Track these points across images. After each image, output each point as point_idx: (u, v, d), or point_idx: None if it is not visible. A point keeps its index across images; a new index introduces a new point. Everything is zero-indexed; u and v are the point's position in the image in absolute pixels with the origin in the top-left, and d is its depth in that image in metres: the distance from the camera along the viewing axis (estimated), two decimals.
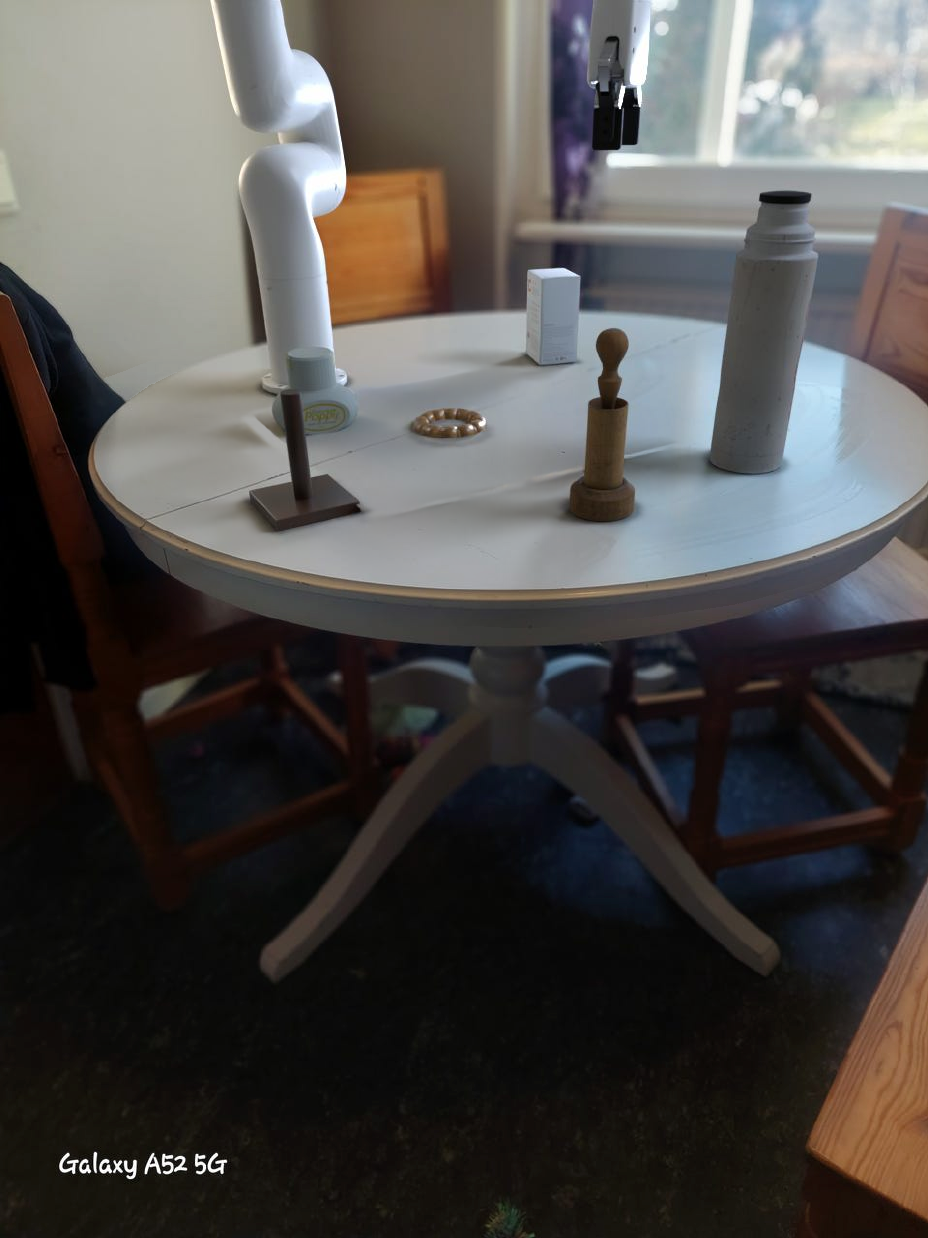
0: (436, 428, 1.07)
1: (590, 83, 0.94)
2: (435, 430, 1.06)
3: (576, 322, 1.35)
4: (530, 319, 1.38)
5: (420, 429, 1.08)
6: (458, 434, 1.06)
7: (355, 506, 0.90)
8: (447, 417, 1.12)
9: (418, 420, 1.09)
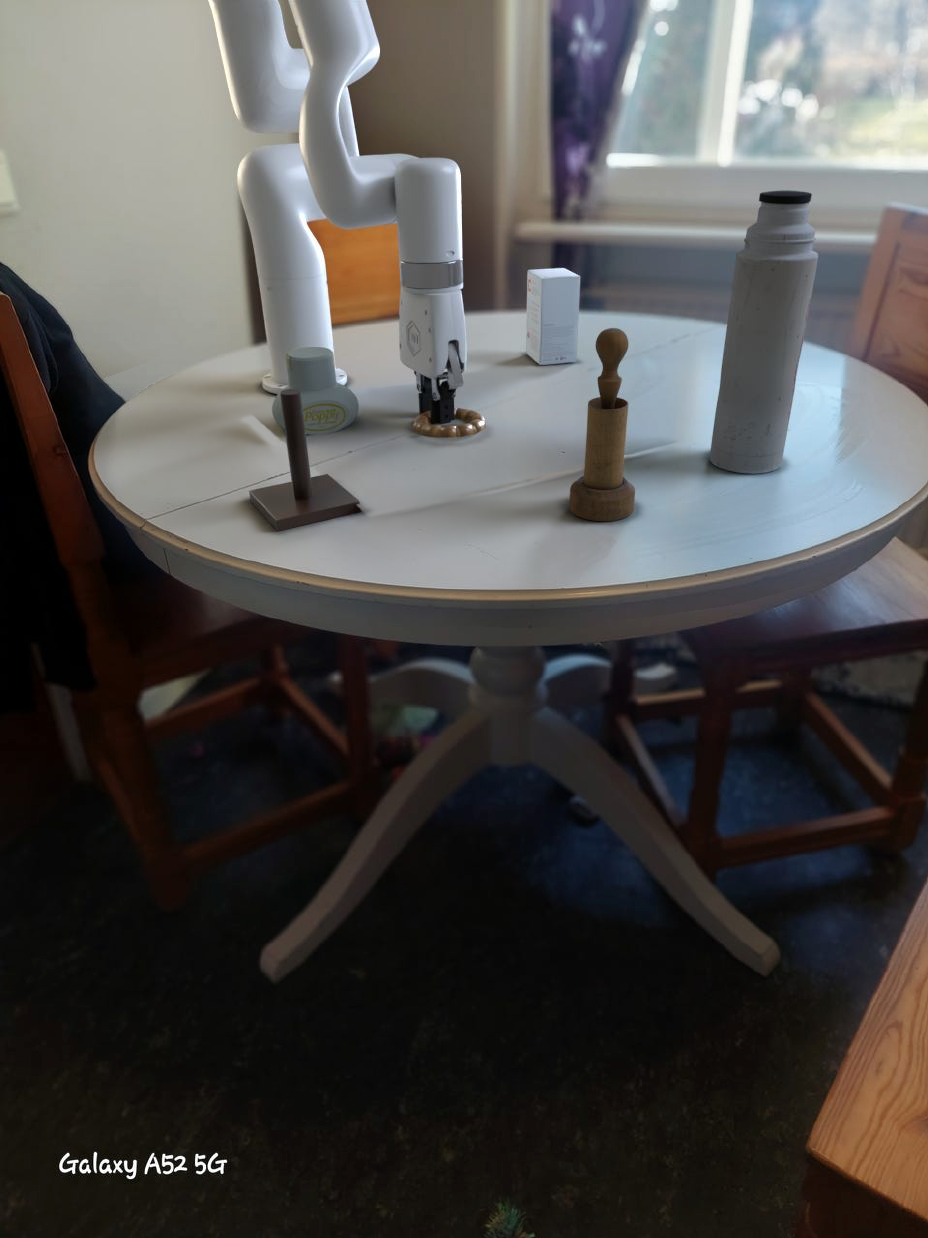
0: (435, 428, 1.07)
1: (436, 377, 1.05)
2: (434, 430, 1.07)
3: (576, 322, 1.35)
4: (530, 319, 1.38)
5: (420, 429, 1.08)
6: (457, 433, 1.06)
7: (355, 506, 0.90)
8: None
9: (418, 420, 1.09)
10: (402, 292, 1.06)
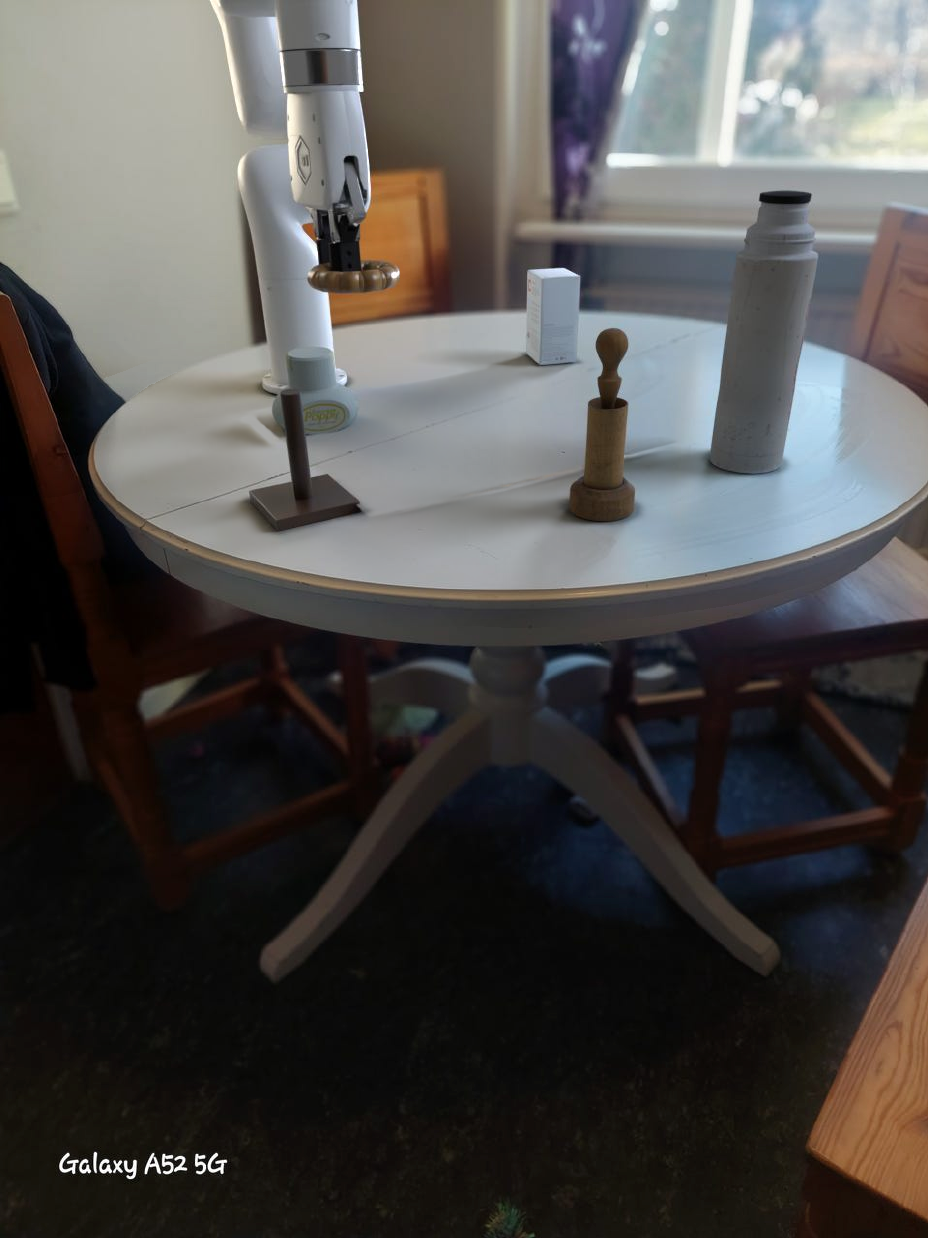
0: (333, 273, 0.85)
1: (330, 206, 0.83)
2: (332, 275, 0.85)
3: (576, 322, 1.35)
4: (530, 319, 1.38)
5: (314, 276, 0.86)
6: (361, 280, 0.84)
7: (355, 506, 0.90)
8: None
9: (313, 268, 0.87)
10: (288, 102, 0.84)
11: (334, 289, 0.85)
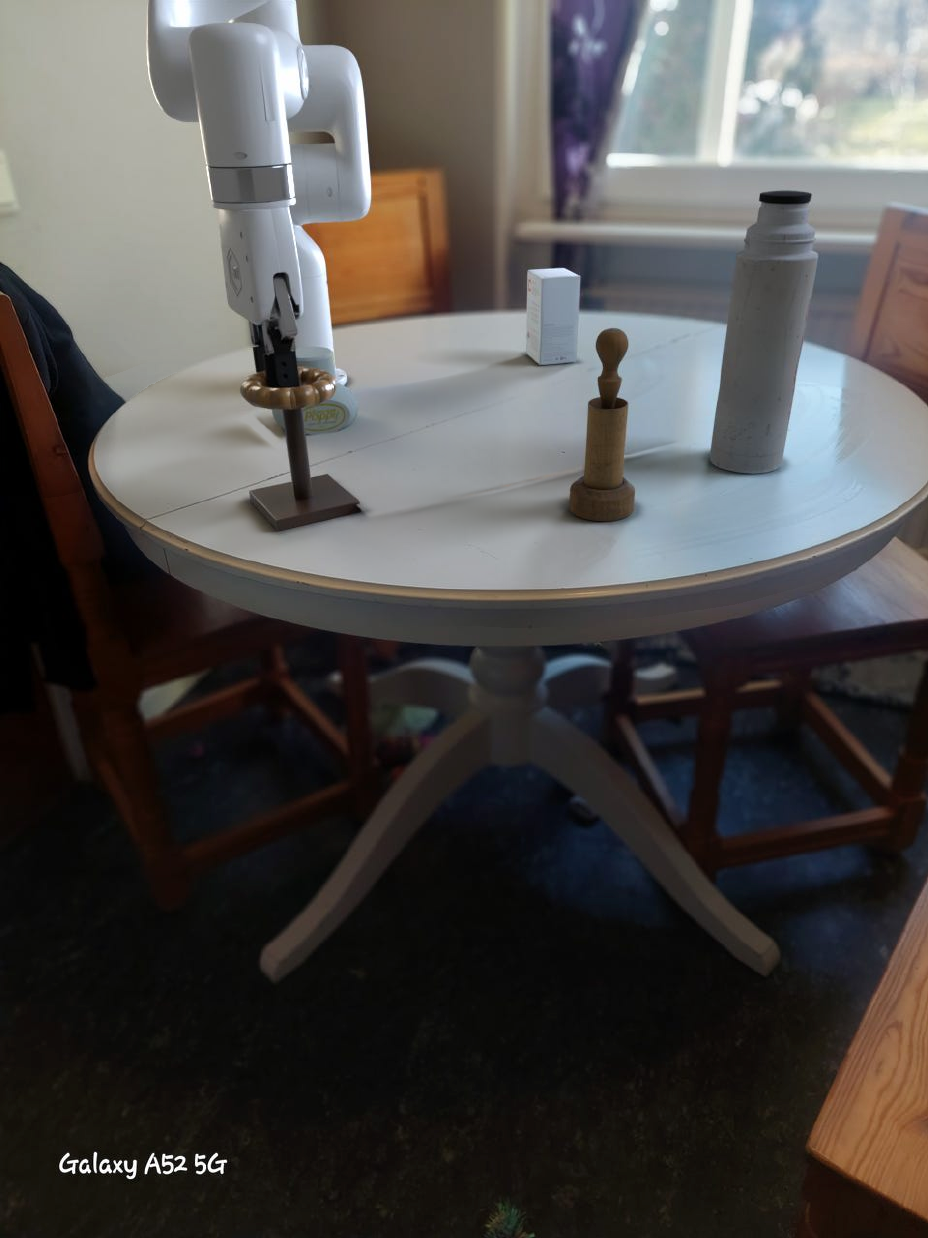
0: (264, 390, 0.82)
1: (261, 322, 0.80)
2: (262, 392, 0.82)
3: (576, 322, 1.35)
4: (530, 319, 1.38)
5: (246, 391, 0.83)
6: (292, 397, 0.82)
7: (355, 506, 0.90)
8: None
9: (246, 380, 0.85)
10: (219, 212, 0.81)
11: (265, 406, 0.82)
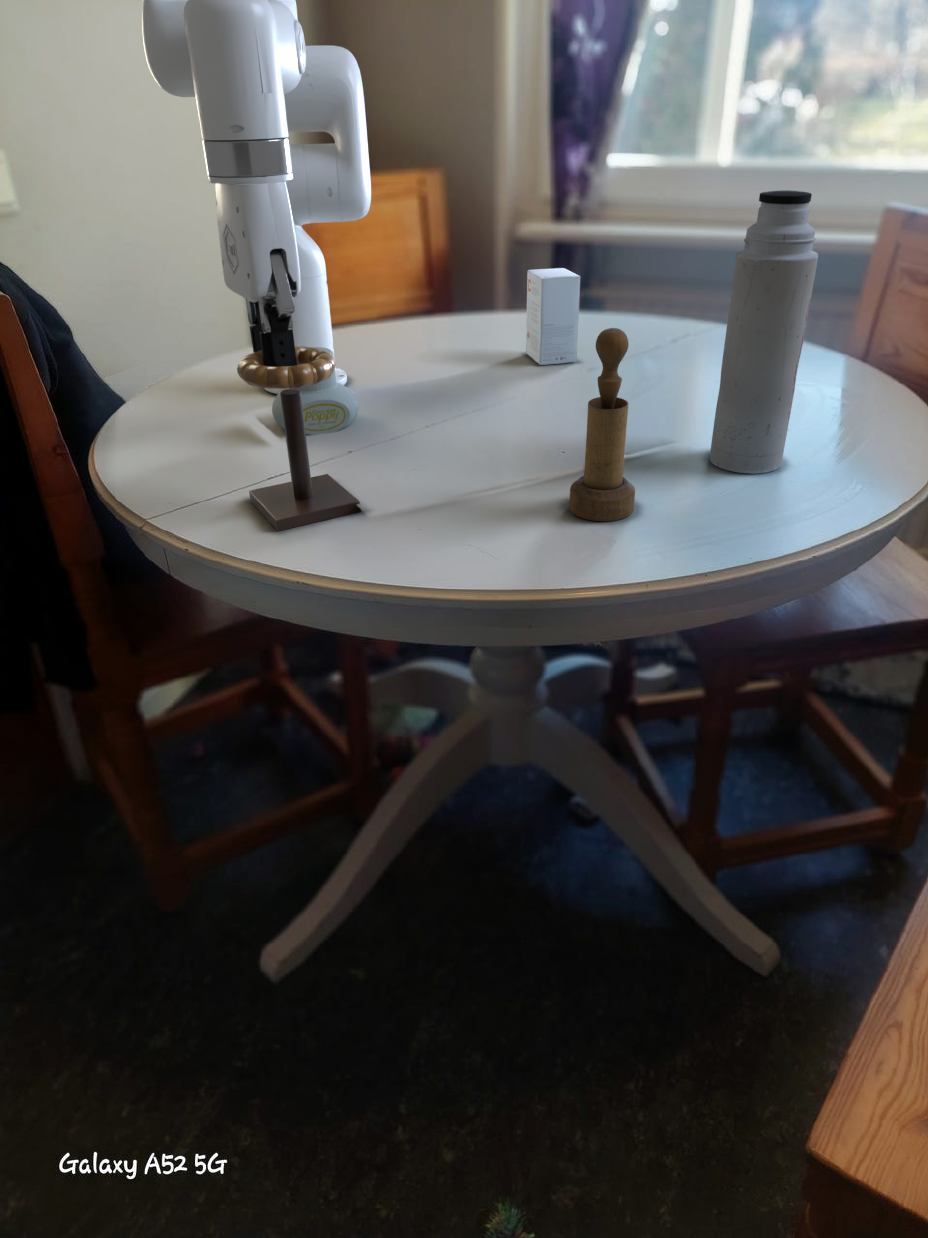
0: (261, 368, 0.81)
1: (258, 299, 0.79)
2: (260, 371, 0.81)
3: (576, 322, 1.35)
4: (530, 319, 1.38)
5: (243, 370, 0.82)
6: (289, 376, 0.81)
7: (355, 506, 0.90)
8: None
9: (243, 359, 0.84)
10: (216, 188, 0.80)
11: (262, 385, 0.81)
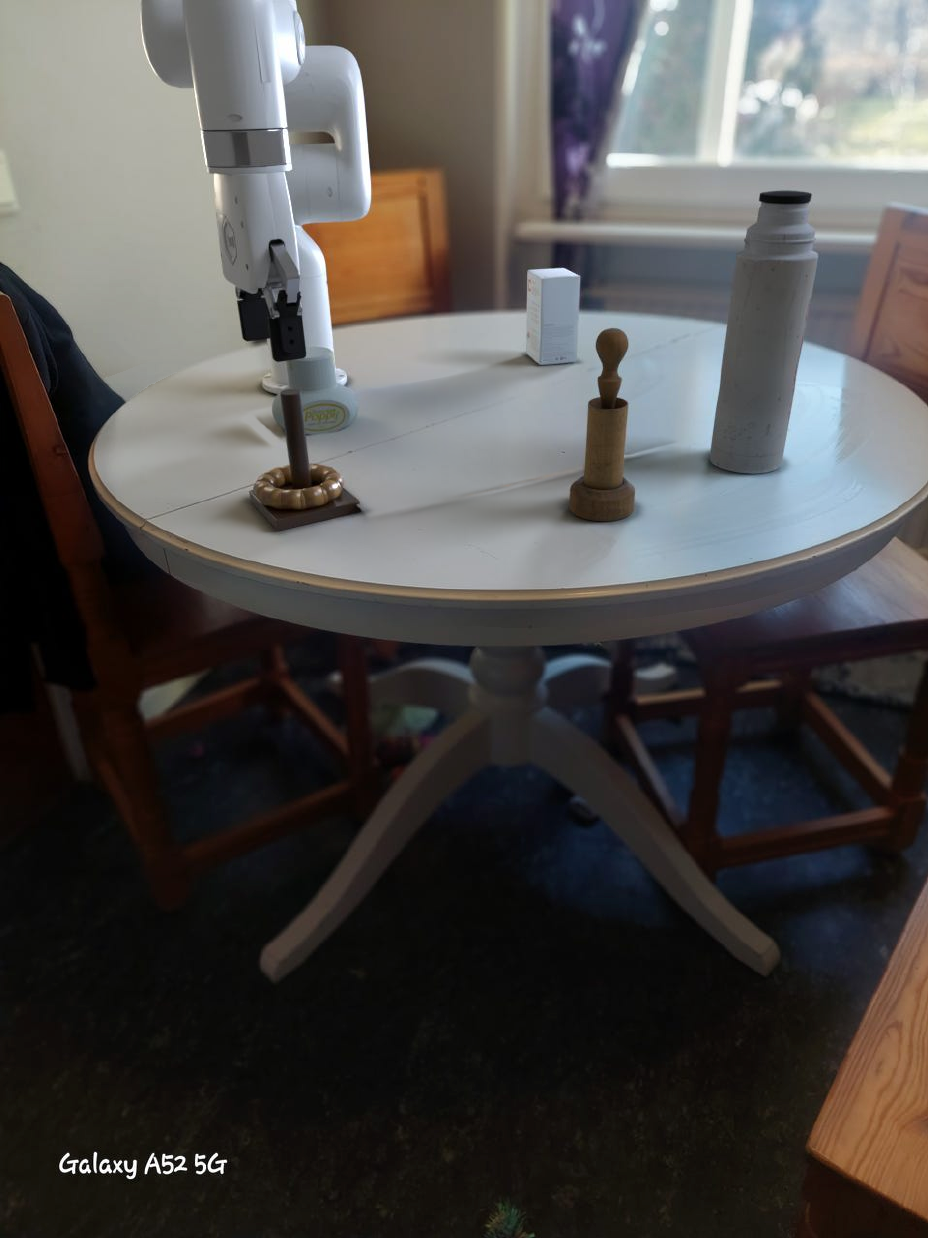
0: (276, 492, 0.87)
1: (256, 291, 0.79)
2: (274, 494, 0.87)
3: (576, 322, 1.35)
4: (530, 319, 1.38)
5: (258, 492, 0.88)
6: (302, 499, 0.87)
7: (355, 506, 0.90)
8: None
9: (259, 480, 0.90)
10: (214, 179, 0.80)
11: (277, 507, 0.88)
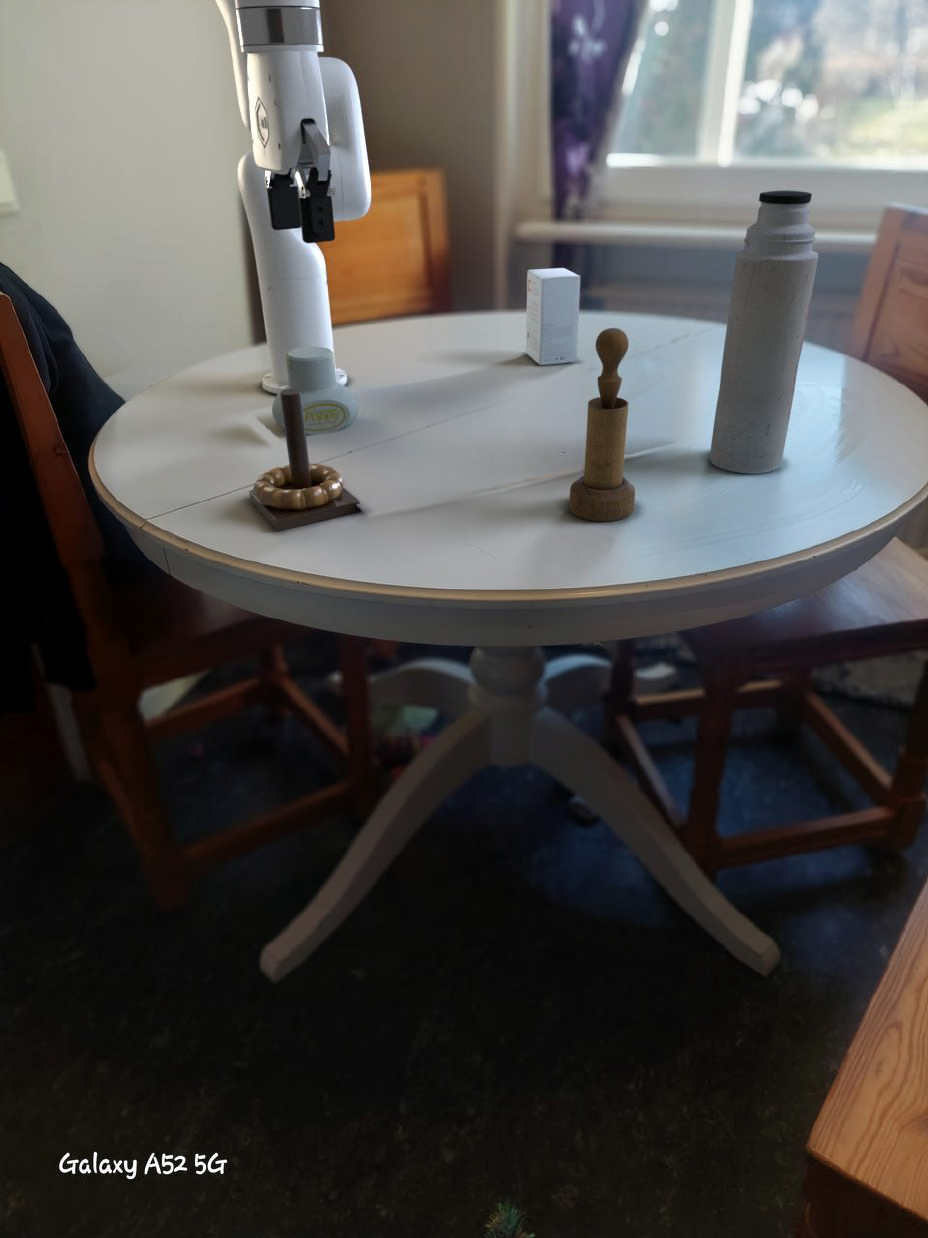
0: (276, 492, 0.87)
1: (288, 170, 0.82)
2: (274, 494, 0.87)
3: (576, 322, 1.35)
4: (530, 319, 1.38)
5: (258, 492, 0.88)
6: (302, 499, 0.87)
7: (355, 506, 0.90)
8: None
9: (259, 480, 0.90)
10: (248, 62, 0.82)
11: (277, 507, 0.88)
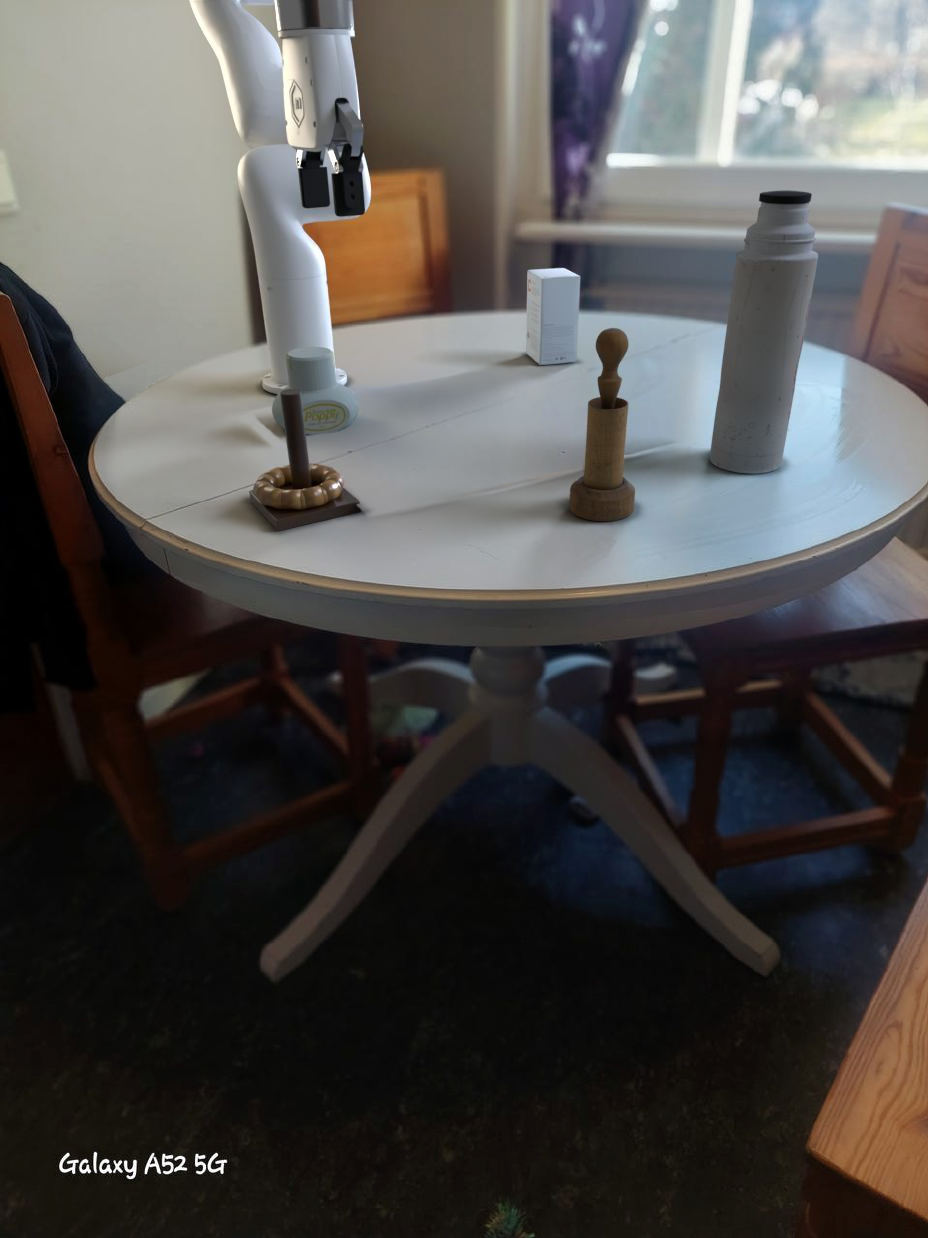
0: (276, 492, 0.87)
1: (322, 147, 0.87)
2: (274, 494, 0.87)
3: (576, 322, 1.35)
4: (530, 319, 1.38)
5: (258, 492, 0.88)
6: (302, 499, 0.87)
7: (355, 506, 0.90)
8: None
9: (259, 480, 0.90)
10: (283, 48, 0.88)
11: (277, 507, 0.88)
